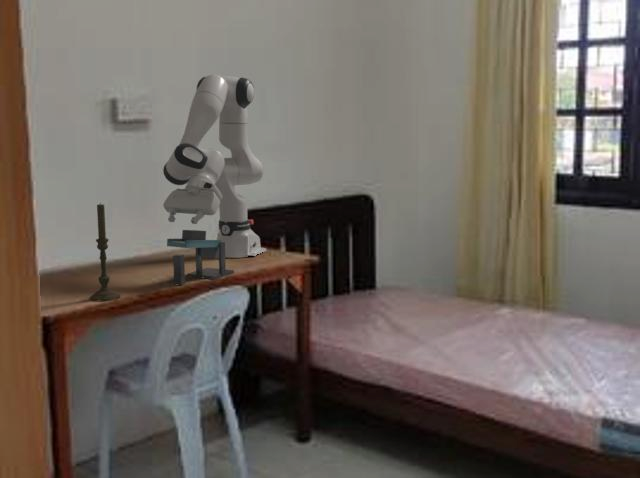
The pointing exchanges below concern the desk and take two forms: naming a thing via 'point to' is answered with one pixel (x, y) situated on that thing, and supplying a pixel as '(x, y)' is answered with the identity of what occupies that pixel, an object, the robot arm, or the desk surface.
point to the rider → (193, 235)
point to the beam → (198, 246)
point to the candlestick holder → (103, 259)
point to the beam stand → (200, 267)
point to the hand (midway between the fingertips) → (181, 222)
